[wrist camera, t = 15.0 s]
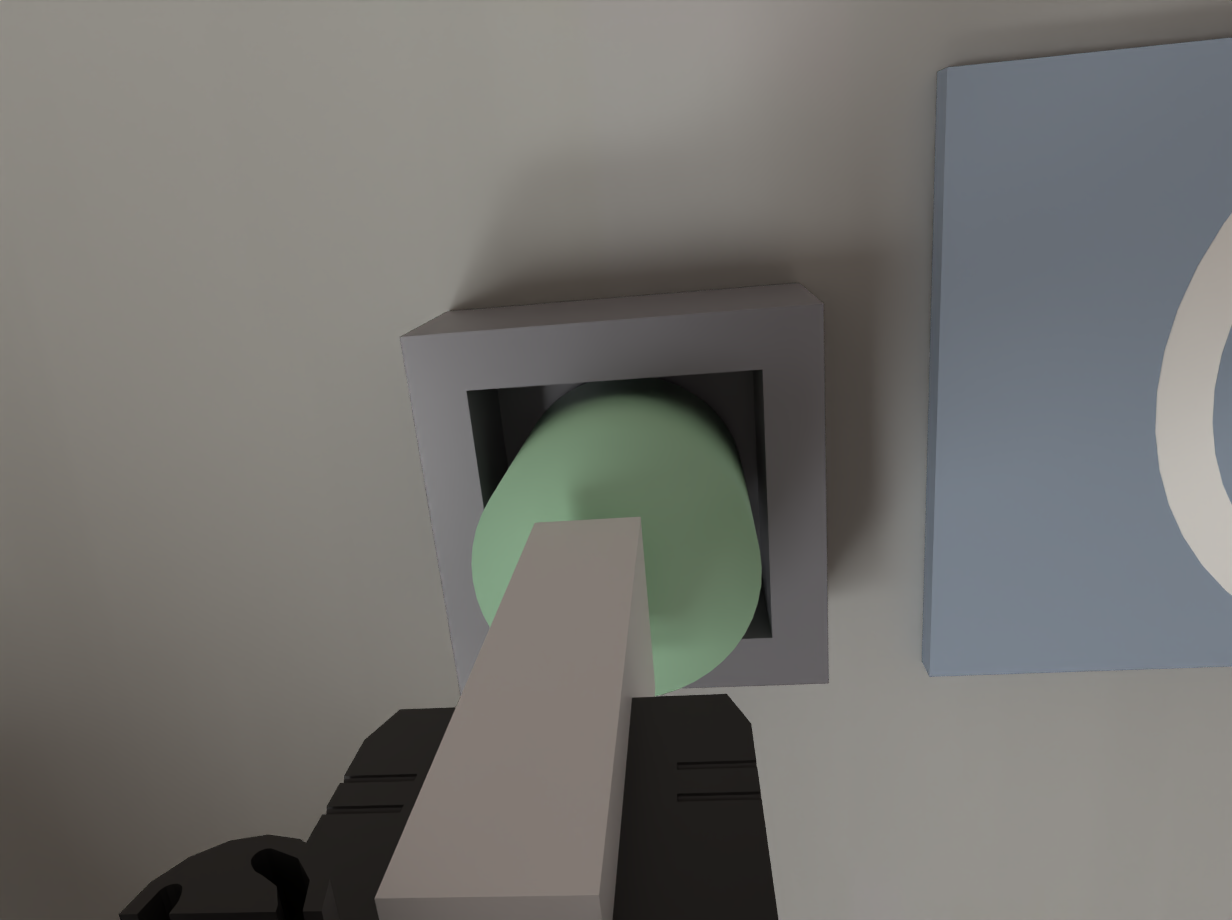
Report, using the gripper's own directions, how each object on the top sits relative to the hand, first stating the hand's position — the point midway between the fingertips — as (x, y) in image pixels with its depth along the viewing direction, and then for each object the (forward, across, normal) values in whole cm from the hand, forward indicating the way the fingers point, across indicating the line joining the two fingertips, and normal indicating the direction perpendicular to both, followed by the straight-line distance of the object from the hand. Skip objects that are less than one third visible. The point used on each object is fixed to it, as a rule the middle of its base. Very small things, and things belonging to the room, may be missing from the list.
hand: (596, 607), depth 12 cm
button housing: (+6, 0, 0) cm, 6 cm away
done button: (+5, 0, 0) cm, 5 cm away
